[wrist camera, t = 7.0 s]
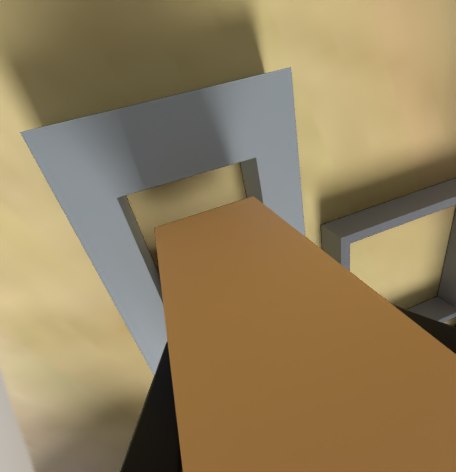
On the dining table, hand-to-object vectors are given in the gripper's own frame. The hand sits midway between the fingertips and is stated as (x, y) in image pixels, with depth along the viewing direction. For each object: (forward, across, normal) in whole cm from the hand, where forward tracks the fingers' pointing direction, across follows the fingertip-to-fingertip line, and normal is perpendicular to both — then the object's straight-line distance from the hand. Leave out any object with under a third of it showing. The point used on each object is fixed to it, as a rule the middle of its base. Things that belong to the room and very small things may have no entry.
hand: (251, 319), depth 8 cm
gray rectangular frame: (+8, 0, +6) cm, 10 cm away
